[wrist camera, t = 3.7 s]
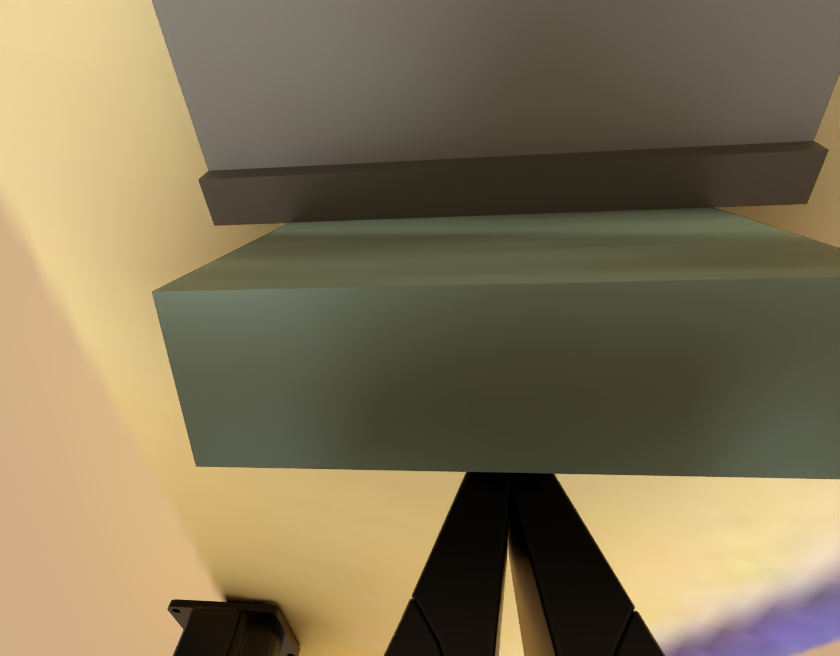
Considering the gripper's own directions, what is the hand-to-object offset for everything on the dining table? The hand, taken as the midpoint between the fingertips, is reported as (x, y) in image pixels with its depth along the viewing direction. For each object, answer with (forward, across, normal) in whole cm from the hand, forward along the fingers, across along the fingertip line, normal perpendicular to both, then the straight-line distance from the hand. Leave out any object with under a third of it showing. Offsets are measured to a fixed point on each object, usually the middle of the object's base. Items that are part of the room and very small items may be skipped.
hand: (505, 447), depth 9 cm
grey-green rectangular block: (+6, 0, 0) cm, 6 cm away
